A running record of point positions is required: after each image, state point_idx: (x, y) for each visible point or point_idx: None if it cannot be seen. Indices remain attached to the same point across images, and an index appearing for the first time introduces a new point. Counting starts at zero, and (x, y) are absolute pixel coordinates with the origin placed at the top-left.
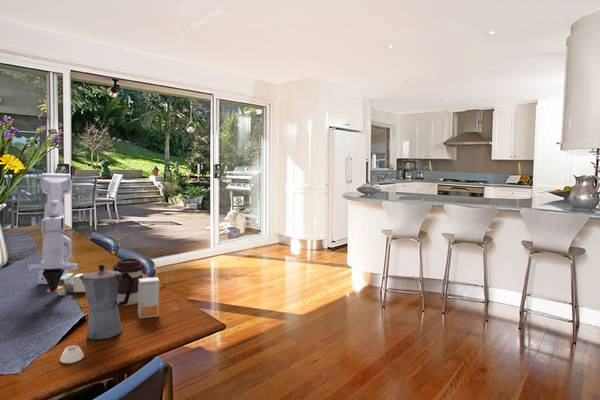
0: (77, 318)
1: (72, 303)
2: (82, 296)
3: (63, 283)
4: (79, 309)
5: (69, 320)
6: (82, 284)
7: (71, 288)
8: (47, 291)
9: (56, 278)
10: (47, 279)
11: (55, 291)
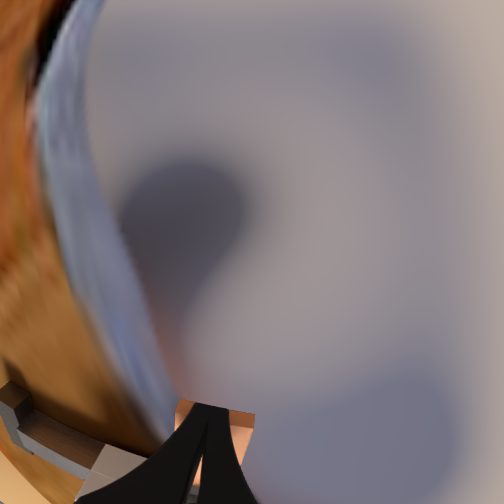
0: (60, 55)
1: (109, 314)
2: (103, 406)
3: (188, 502)
4: (54, 189)
5: (90, 31)
6: (105, 475)
7: None
8: (251, 417)
9: (128, 477)
10: (234, 495)
11: (189, 404)
